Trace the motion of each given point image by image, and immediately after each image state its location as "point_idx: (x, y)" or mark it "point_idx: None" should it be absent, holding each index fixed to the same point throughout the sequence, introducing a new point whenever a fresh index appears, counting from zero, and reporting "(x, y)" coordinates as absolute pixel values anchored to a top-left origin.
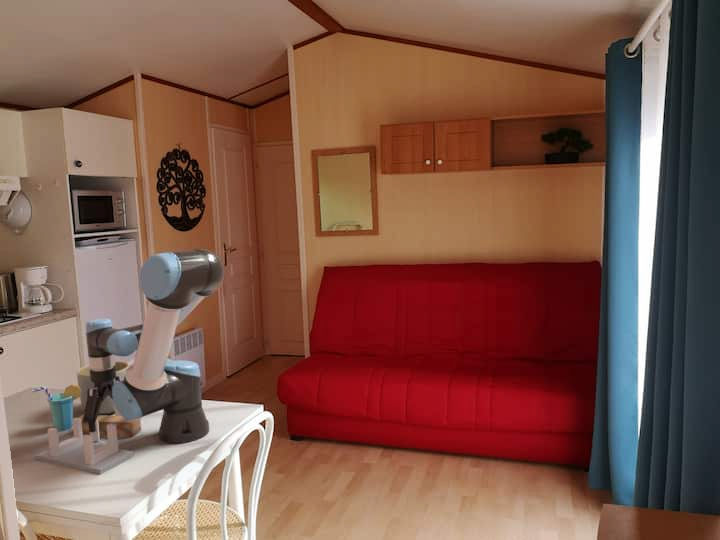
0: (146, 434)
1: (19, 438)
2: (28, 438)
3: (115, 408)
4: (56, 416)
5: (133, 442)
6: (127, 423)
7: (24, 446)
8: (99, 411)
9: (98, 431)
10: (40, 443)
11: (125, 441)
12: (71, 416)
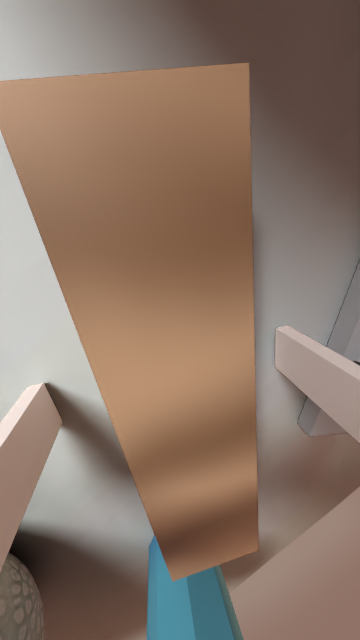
0: (118, 40)
1: (273, 551)
2: (271, 538)
3: (3, 542)
4: (236, 621)
5: (282, 65)
6: (244, 158)
7: (323, 504)
8: (17, 577)
9: (324, 351)
10: (303, 491)
11: (269, 158)
12: (174, 593)
